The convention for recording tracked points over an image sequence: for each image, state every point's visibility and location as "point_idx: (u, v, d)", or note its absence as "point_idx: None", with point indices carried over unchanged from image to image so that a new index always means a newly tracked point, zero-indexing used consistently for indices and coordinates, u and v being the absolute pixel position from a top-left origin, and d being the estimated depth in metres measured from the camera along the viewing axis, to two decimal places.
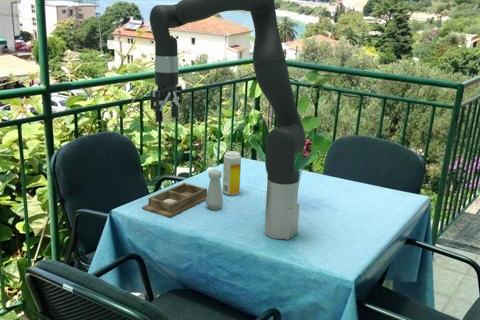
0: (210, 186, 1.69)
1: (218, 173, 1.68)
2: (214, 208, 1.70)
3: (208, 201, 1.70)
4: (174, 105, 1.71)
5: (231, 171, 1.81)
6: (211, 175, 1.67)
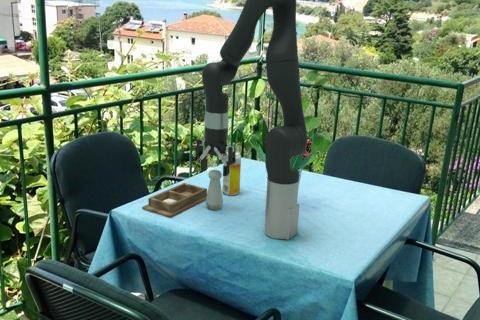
0: (210, 186, 1.69)
1: (218, 173, 1.68)
2: (214, 208, 1.70)
3: (208, 201, 1.70)
4: (205, 158, 1.70)
5: (231, 171, 1.81)
6: (212, 175, 1.67)
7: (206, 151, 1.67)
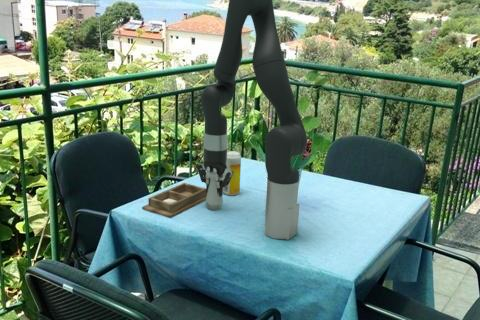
0: (210, 186, 1.69)
1: None
2: (214, 208, 1.70)
3: (208, 201, 1.70)
4: None
5: None
6: (212, 175, 1.67)
7: (208, 174, 1.68)
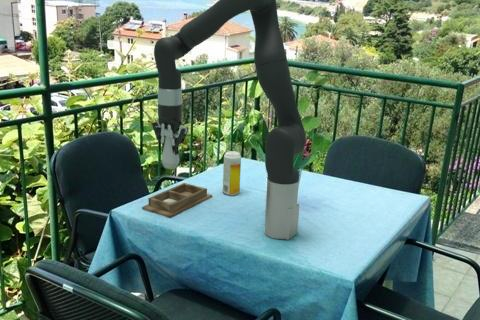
0: (165, 144, 1.64)
1: None
2: (170, 167, 1.65)
3: (163, 159, 1.65)
4: None
5: (231, 171, 1.81)
6: (166, 132, 1.62)
7: (163, 131, 1.63)
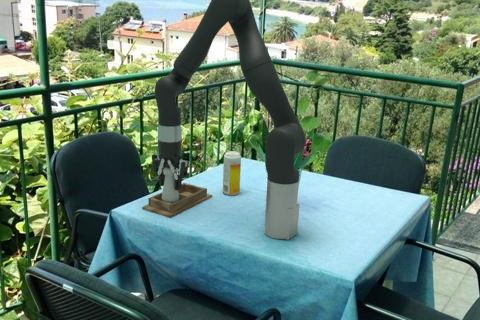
0: (165, 182, 1.68)
1: None
2: None
3: (163, 198, 1.68)
4: (163, 173, 1.70)
5: (231, 171, 1.81)
6: (166, 172, 1.66)
7: (161, 165, 1.67)
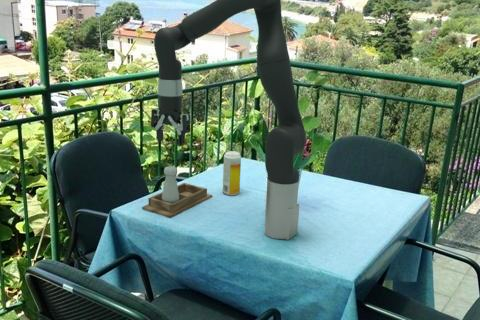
0: (165, 182, 1.68)
1: (173, 169, 1.66)
2: None
3: (163, 197, 1.68)
4: (160, 128, 1.66)
5: (231, 171, 1.81)
6: (166, 172, 1.66)
7: (161, 120, 1.63)
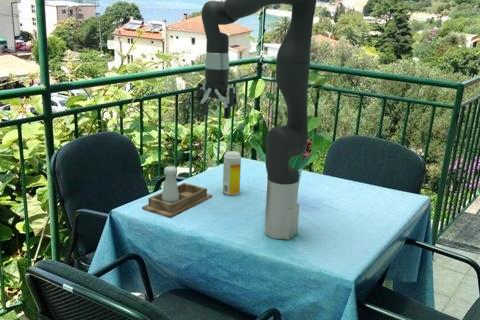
0: (165, 182, 1.68)
1: (173, 169, 1.66)
2: None
3: (163, 197, 1.68)
4: (206, 102, 1.69)
5: (231, 171, 1.81)
6: (166, 172, 1.66)
7: (207, 94, 1.66)
